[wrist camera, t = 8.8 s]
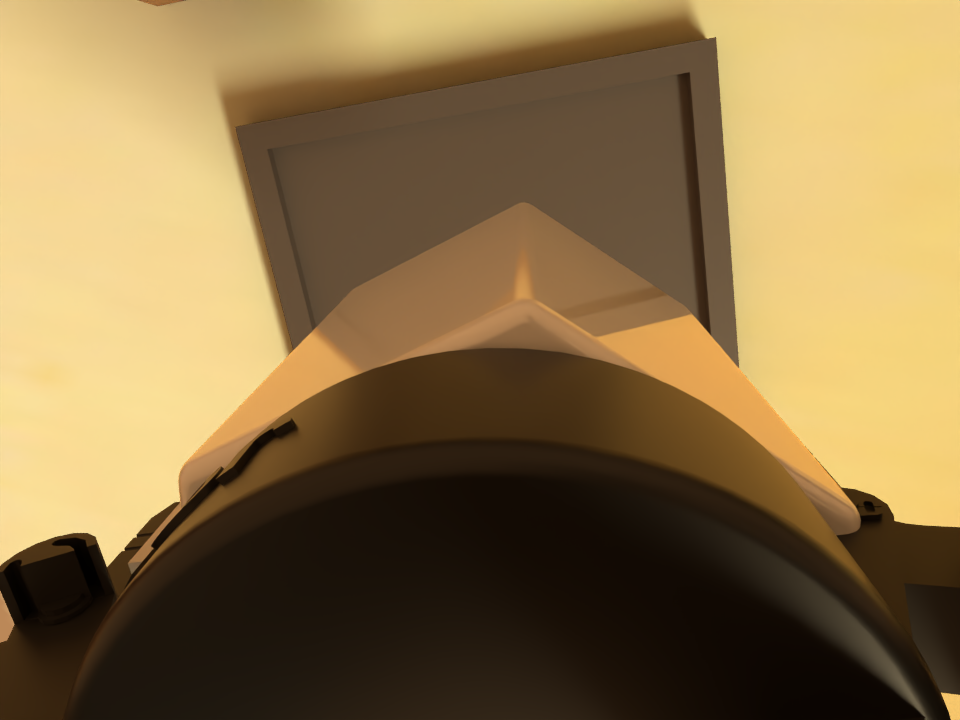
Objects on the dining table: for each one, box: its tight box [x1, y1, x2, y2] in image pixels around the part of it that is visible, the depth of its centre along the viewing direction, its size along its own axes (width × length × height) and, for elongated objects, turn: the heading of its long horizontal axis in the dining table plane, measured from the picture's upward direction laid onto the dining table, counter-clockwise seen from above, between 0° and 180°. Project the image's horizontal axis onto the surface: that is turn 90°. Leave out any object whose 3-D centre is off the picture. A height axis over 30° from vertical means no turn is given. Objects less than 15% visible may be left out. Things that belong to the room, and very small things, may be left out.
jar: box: [63, 202, 951, 720], centre depth 12 cm, size 9×8×12 cm
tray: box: [235, 37, 739, 368], centre depth 30 cm, size 18×15×1 cm
